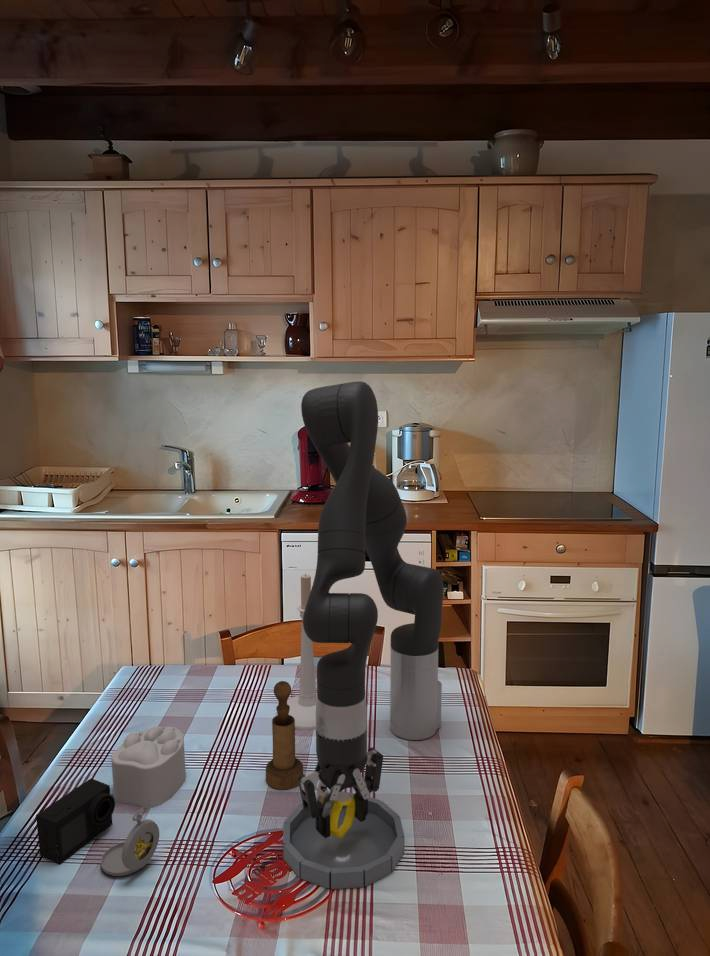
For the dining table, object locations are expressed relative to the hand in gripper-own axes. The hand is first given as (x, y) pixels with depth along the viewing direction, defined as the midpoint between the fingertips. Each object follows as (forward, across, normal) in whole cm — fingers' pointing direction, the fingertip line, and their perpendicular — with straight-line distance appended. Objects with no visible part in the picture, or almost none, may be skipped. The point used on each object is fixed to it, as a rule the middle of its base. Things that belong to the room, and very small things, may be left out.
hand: (342, 826), depth 109 cm
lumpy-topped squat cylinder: (+3, +18, -32) cm, 37 cm away
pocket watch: (+3, +28, -14) cm, 31 cm away
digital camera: (+3, +33, -24) cm, 40 cm away
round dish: (+3, 0, 0) cm, 3 cm away
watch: (+1, 0, 0) cm, 1 cm away
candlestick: (+3, -16, -37) cm, 40 cm away
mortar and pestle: (+3, -1, -20) cm, 20 cm away
